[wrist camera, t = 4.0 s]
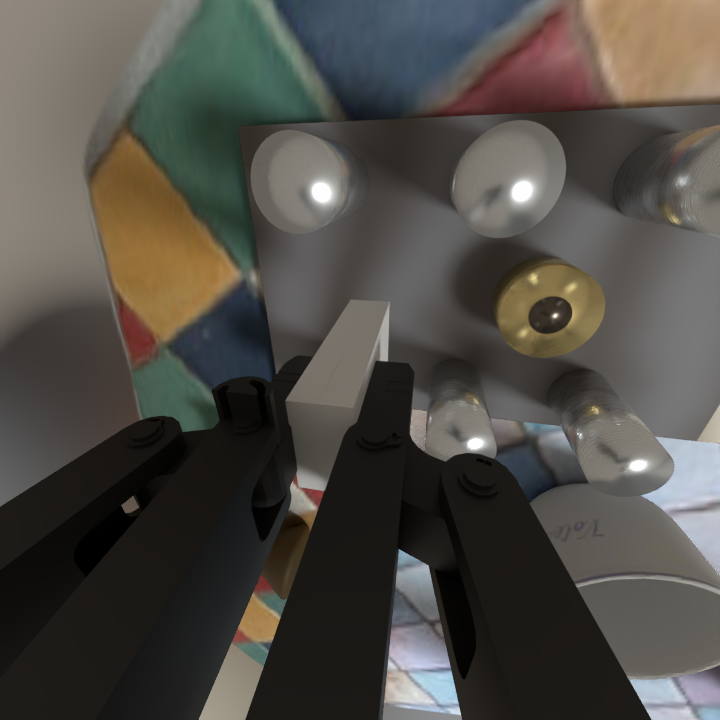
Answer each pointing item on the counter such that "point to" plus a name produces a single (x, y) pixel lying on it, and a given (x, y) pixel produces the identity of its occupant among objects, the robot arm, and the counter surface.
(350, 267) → the board
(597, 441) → the steel spacers
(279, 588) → the kendama
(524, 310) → the brass knob
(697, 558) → the teacup
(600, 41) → the counter surface
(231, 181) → the counter surface
